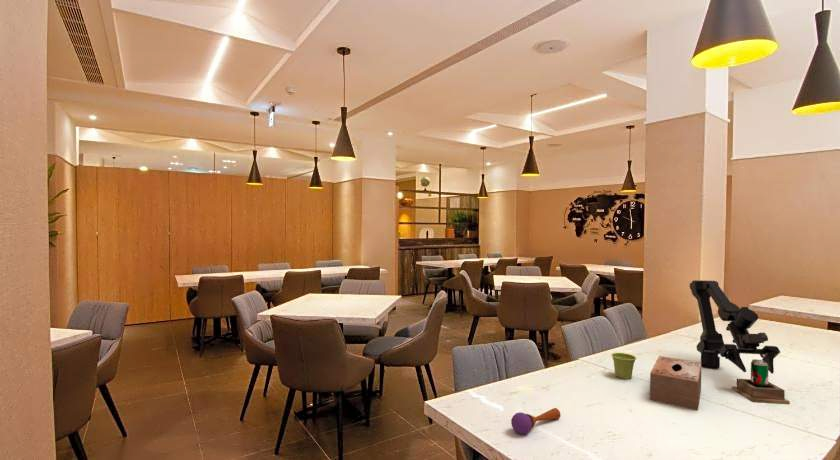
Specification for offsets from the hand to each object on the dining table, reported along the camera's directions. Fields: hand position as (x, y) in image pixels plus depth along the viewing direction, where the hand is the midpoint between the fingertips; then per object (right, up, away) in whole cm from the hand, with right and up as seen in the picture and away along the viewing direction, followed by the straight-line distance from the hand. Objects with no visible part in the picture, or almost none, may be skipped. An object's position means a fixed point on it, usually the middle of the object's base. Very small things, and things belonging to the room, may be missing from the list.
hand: (758, 372), depth 154 cm
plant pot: (-41, -9, +19) cm, 46 cm away
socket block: (0, -9, 0) cm, 9 cm away
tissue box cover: (-29, -9, +2) cm, 31 cm away
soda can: (0, -8, 0) cm, 8 cm away
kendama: (-90, -9, -25) cm, 94 cm away
